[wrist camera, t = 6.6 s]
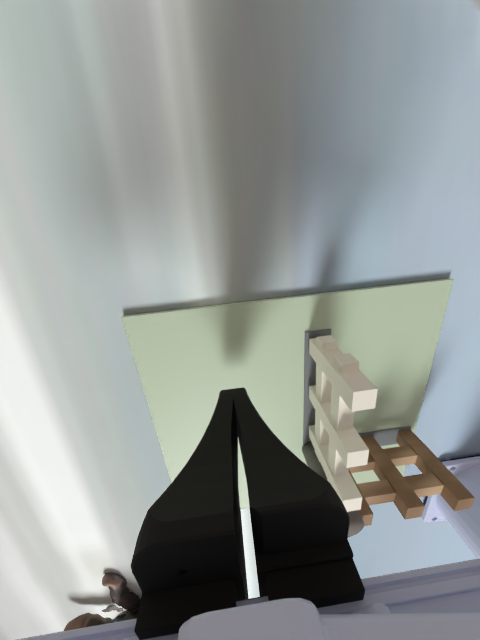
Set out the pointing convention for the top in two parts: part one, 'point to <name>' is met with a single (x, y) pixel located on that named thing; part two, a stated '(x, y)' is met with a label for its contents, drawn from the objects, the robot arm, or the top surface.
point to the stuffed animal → (119, 596)
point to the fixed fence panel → (399, 479)
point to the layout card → (286, 362)
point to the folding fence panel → (339, 416)
